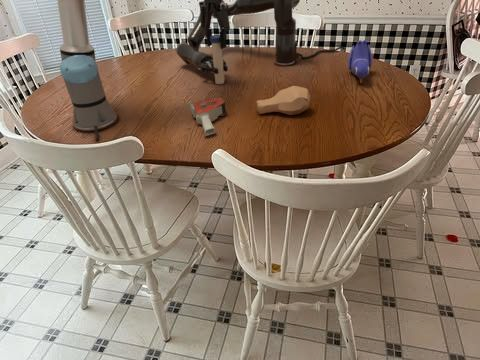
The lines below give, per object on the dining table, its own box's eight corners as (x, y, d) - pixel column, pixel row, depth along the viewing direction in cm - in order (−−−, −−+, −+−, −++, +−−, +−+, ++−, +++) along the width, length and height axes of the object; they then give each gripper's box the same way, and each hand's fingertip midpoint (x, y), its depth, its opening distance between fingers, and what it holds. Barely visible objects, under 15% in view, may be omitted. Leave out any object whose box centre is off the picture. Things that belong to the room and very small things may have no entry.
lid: (224, 40, 150) (224, 35, 149) (217, 43, 147) (217, 38, 145) (214, 39, 152) (214, 34, 151) (207, 42, 149) (207, 37, 148)
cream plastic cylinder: (219, 84, 158) (215, 40, 146) (213, 82, 160) (209, 38, 149) (226, 82, 160) (223, 37, 148) (220, 80, 162) (216, 36, 151)
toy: (346, 77, 167) (349, 86, 145) (348, 39, 161) (352, 42, 138) (368, 76, 165) (375, 85, 143) (371, 38, 158) (379, 41, 136)
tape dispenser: (210, 142, 120) (241, 115, 132) (208, 128, 116) (241, 102, 129) (170, 128, 127) (203, 104, 139) (167, 115, 124) (202, 91, 136)
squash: (314, 116, 128) (313, 95, 122) (259, 125, 130) (256, 105, 124) (308, 99, 136) (307, 78, 129) (257, 108, 138) (253, 88, 131)
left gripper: (237, -15, 134) (240, 47, 148) (200, -17, 145) (206, 41, 158) (224, -12, 130) (228, 52, 143) (186, -14, 140) (194, 45, 154)
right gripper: (216, 65, 171) (236, 74, 160) (190, 72, 165) (208, 82, 154) (214, 49, 167) (235, 58, 155) (187, 56, 161) (207, 65, 149)
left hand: (216, 46), depth 151 cm, fingers open, 7 cm apart
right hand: (221, 70), depth 155 cm, fingers closed on cream plastic cylinder, 4 cm apart
